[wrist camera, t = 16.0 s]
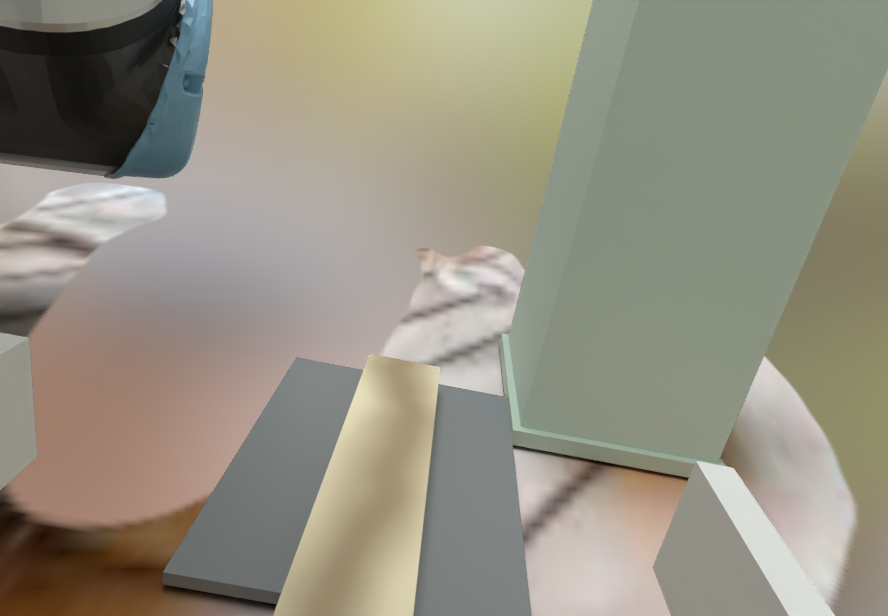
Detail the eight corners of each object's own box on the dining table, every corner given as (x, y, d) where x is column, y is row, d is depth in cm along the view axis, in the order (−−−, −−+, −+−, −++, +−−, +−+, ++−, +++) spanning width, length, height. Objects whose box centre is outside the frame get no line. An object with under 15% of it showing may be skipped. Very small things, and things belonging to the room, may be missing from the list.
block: (251, 702, 18) (255, 661, 18) (365, 378, 38) (369, 354, 37) (395, 727, 18) (405, 687, 18) (435, 392, 38) (440, 367, 37)
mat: (162, 584, 22) (162, 572, 22) (295, 365, 39) (296, 357, 39) (530, 649, 23) (534, 638, 22) (505, 405, 39) (507, 397, 39)
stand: (509, 444, 35) (675, -168, 24) (499, 344, 48) (604, -83, 37) (722, 484, 36) (981, -102, 25) (655, 374, 49) (805, -41, 38)
